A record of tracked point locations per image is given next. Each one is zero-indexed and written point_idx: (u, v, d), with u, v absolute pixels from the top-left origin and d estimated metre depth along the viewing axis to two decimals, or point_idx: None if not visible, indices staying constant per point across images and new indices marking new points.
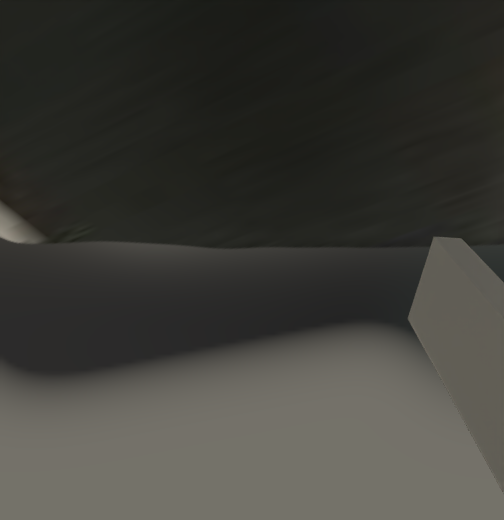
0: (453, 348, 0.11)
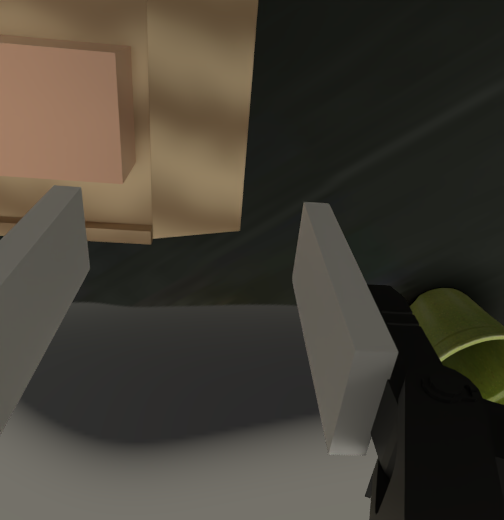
0: (307, 297, 0.12)
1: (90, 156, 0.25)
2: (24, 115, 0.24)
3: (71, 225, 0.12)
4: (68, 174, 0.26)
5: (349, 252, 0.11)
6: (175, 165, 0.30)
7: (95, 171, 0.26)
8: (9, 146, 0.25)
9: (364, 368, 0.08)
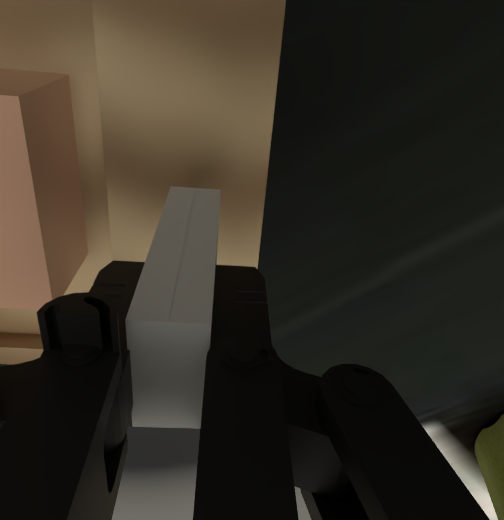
0: None
1: None
2: None
3: None
4: None
5: (215, 234, 0.11)
6: None
7: (4, 292, 0.15)
8: None
9: (181, 340, 0.08)
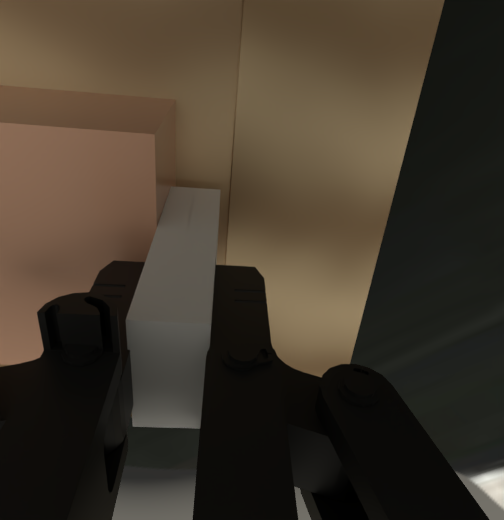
0: None
1: None
2: None
3: None
4: None
5: (215, 234, 0.11)
6: None
7: None
8: None
9: (180, 340, 0.08)
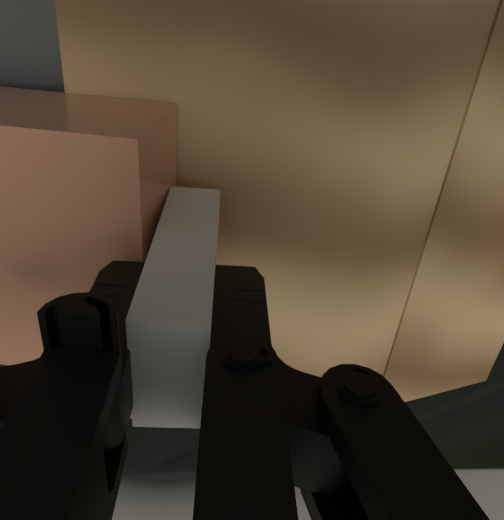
0: None
1: None
2: None
3: None
4: None
5: (215, 234, 0.11)
6: (437, 306, 0.18)
7: None
8: None
9: (180, 340, 0.08)
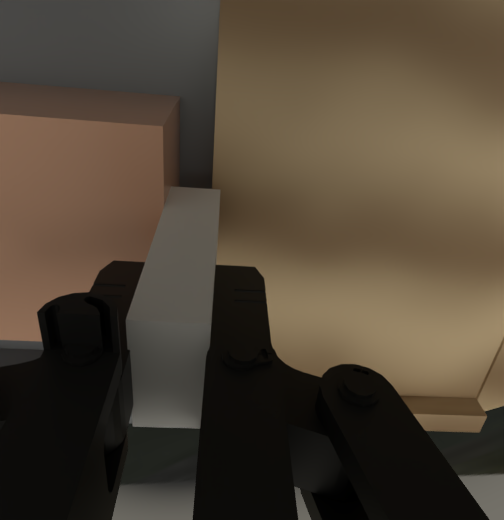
0: None
1: None
2: None
3: None
4: None
5: (214, 234, 0.11)
6: None
7: None
8: None
9: (180, 340, 0.08)
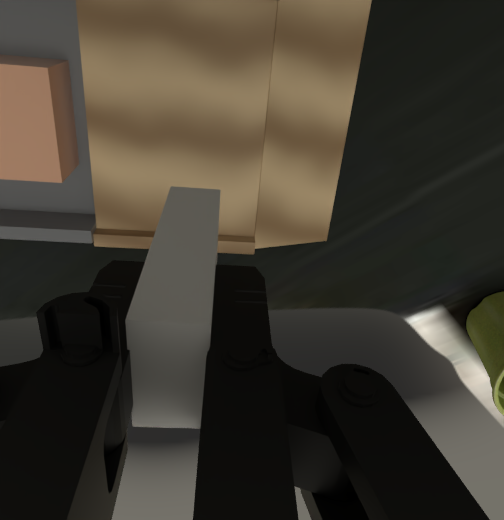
0: None
1: (31, 158, 0.29)
2: None
3: None
4: (12, 174, 0.29)
5: (215, 234, 0.11)
6: (280, 182, 0.33)
7: (36, 171, 0.29)
8: None
9: (181, 340, 0.08)
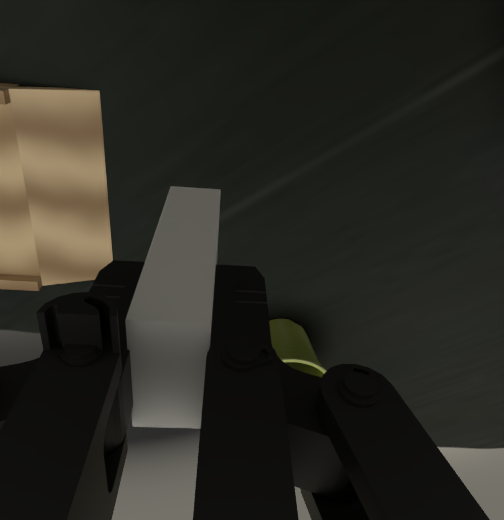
0: None
1: None
2: None
3: None
4: None
5: (215, 234, 0.11)
6: (53, 234, 0.41)
7: None
8: None
9: (181, 340, 0.08)
